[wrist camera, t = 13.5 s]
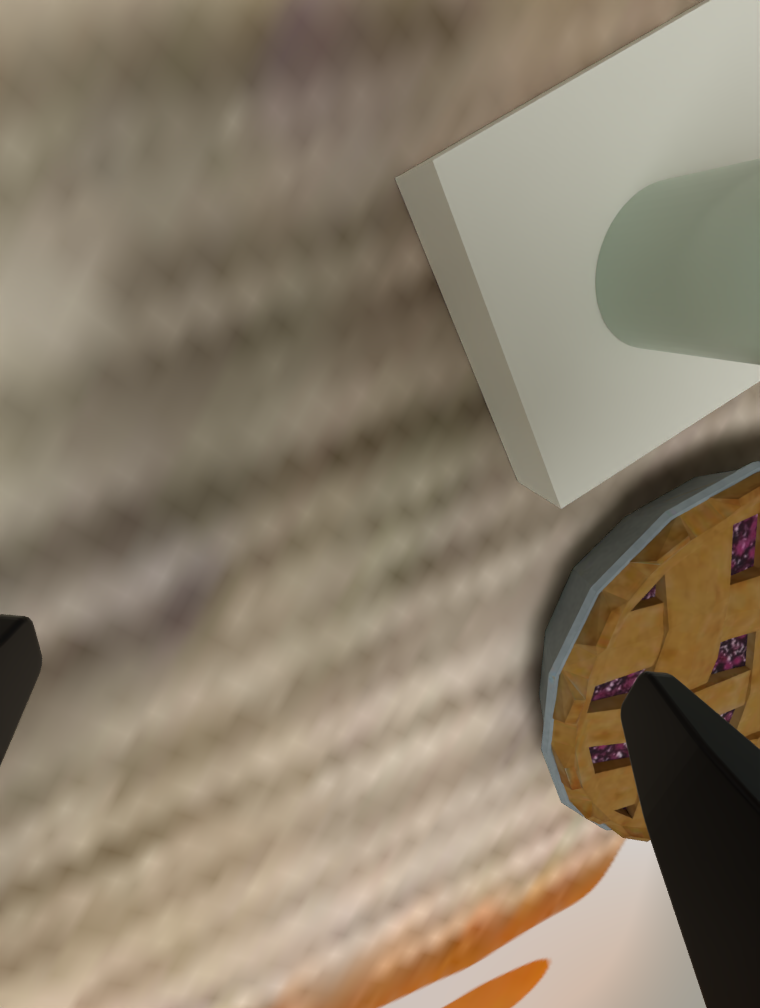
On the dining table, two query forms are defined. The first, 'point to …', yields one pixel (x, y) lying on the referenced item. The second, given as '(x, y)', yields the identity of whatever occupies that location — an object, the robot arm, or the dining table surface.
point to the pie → (653, 635)
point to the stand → (585, 244)
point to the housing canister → (687, 266)
